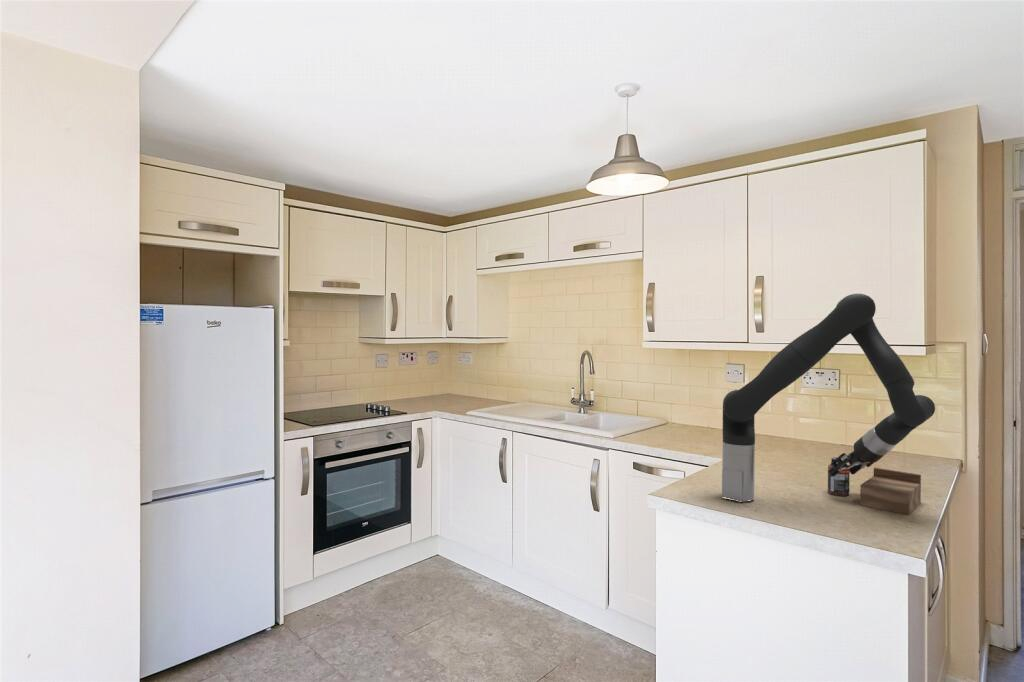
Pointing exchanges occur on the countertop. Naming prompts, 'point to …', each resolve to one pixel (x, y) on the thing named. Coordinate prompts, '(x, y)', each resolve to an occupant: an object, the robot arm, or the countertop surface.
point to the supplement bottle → (839, 482)
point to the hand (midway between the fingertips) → (840, 473)
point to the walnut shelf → (891, 491)
